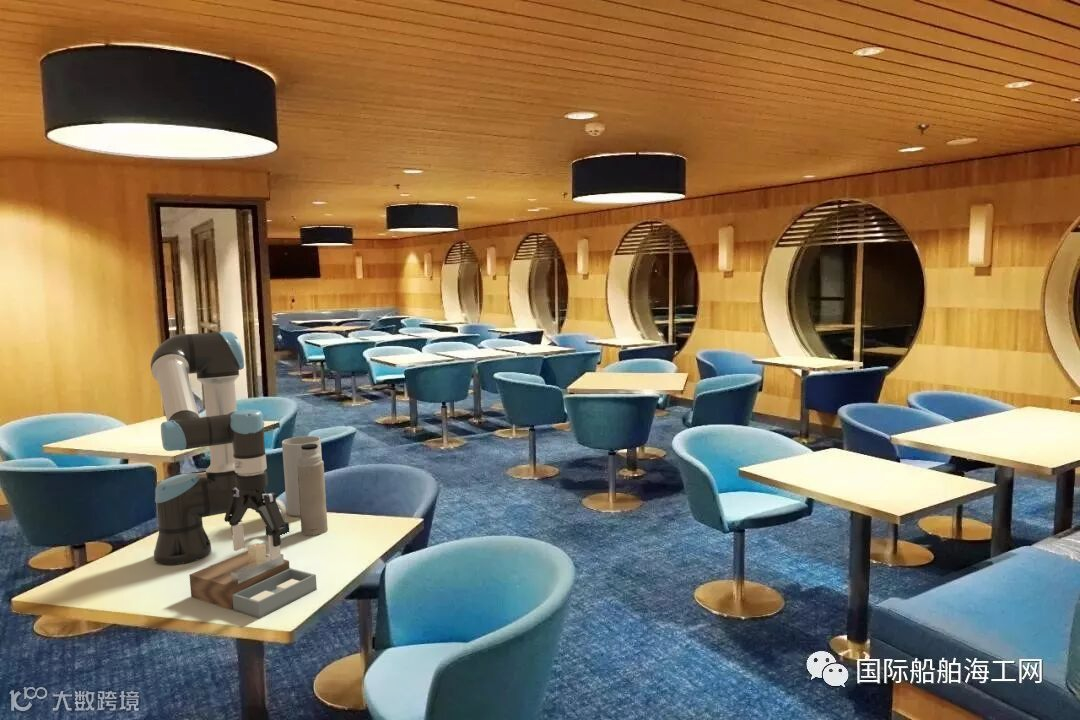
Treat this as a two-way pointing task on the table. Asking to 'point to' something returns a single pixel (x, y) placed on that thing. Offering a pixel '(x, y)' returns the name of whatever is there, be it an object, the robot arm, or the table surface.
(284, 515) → the watch
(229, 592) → the wood grain panel
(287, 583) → the tile
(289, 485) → the cylinder vase
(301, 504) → the thermos bottle
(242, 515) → the robot arm
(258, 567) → the gray bar with knob
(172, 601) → the table surface
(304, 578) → the box
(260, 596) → the tile
